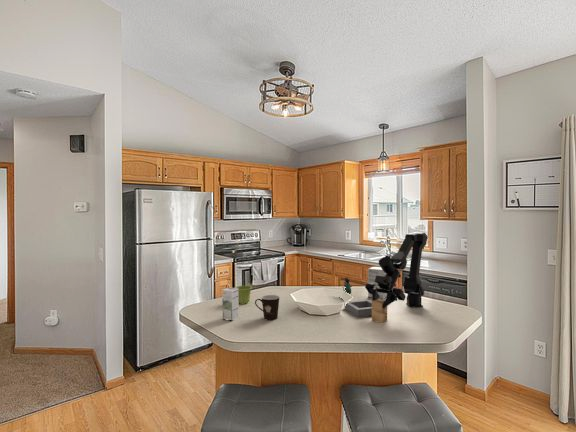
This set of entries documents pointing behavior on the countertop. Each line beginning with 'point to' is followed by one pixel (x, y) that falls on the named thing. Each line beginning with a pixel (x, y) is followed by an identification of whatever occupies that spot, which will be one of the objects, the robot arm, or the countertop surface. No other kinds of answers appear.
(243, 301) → the plant pot
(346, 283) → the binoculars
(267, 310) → the coffee mug
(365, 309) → the collar
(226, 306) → the syrup box
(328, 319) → the countertop surface
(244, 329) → the countertop surface
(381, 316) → the oak block
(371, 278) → the supplement box
